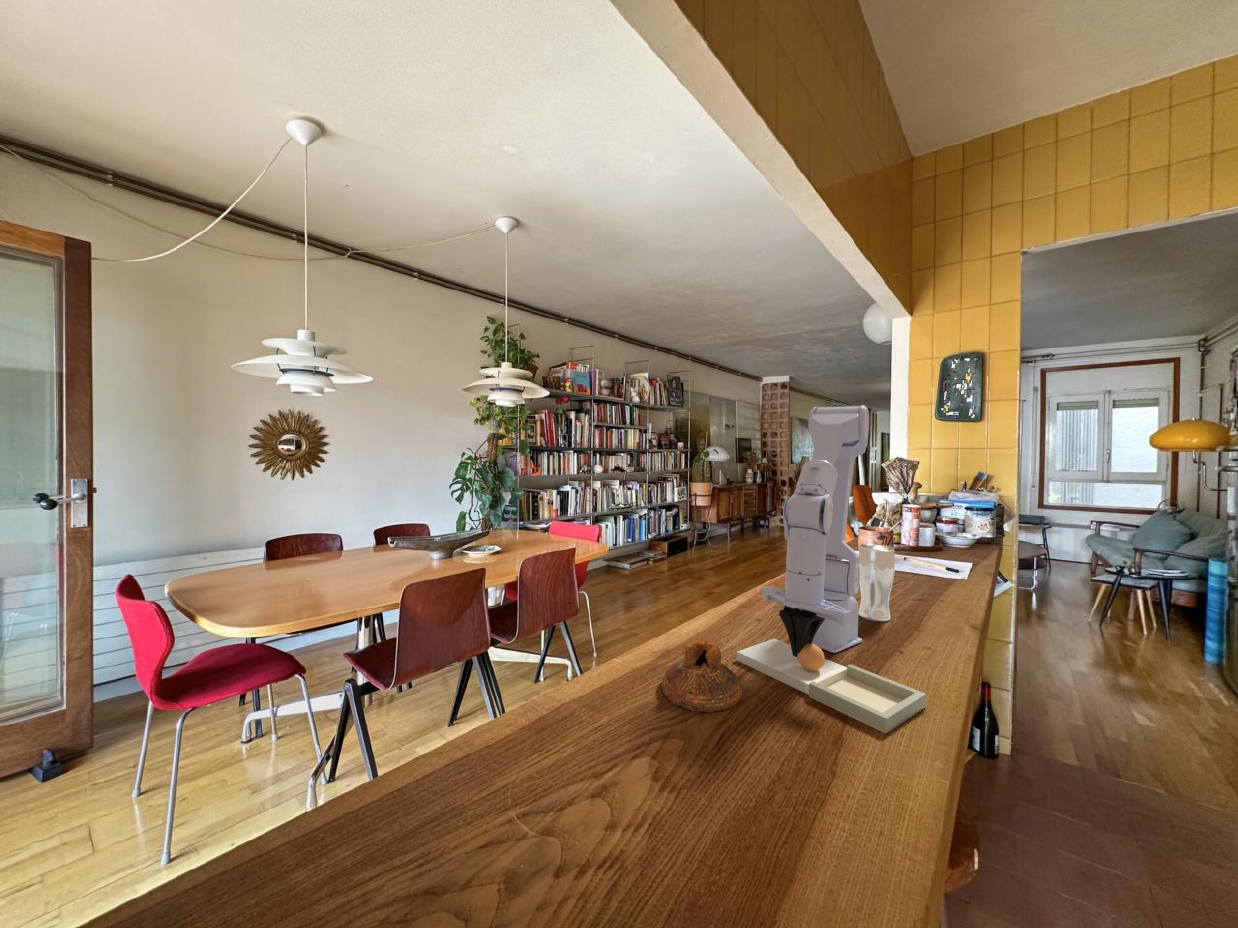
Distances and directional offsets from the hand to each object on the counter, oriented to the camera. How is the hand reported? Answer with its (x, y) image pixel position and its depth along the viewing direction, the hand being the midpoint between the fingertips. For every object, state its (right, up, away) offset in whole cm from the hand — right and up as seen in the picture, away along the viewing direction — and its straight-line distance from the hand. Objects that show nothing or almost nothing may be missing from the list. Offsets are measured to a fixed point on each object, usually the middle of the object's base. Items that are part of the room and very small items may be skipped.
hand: (801, 656), depth 78 cm
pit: (+6, -4, -8) cm, 11 cm away
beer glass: (+26, -2, +27) cm, 38 cm away
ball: (+1, 0, -1) cm, 2 cm away
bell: (-17, -4, -5) cm, 18 cm away
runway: (-1, -3, +2) cm, 4 cm away
